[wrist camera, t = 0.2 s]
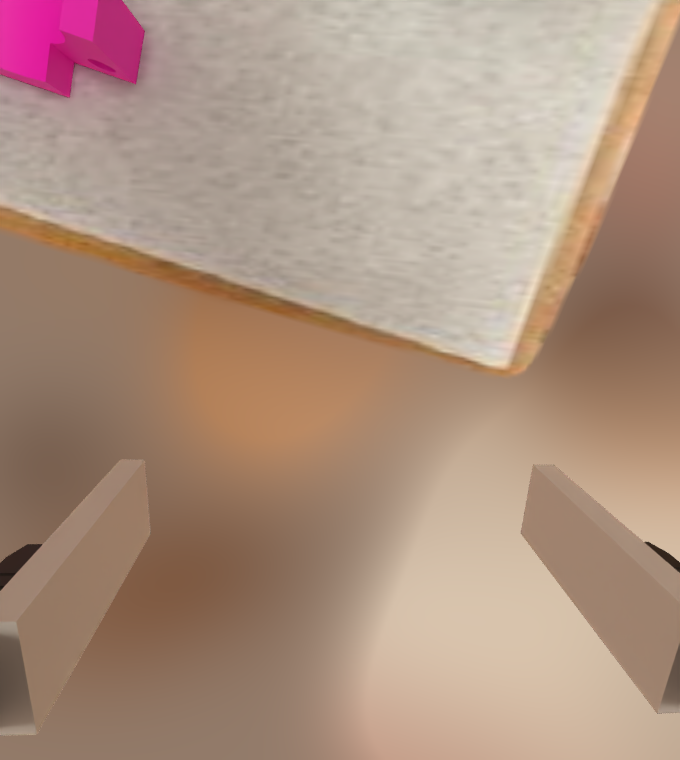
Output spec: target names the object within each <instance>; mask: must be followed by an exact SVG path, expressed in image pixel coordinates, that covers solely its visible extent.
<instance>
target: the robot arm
mask: <svg viewBox="0 0 680 760" xmlns="http://www.w3.org/2000/svg"><path fill="white" fill-rule="evenodd" d="M147 495H148V494H147V481H146V468H145V460H120V461H119V462H118V463H117V464H116V465H115V466H114V467H113V468H112V469H111V470H110V472H109V473H108V474H107V475H106V476H105V477H104V478H103V479H102V480H101V481H100V482H99V484H98V485H97V486H96V487H95V488H94V489H93V490H92V491H91V492H90V493H89V495H88V496H87V497H86V498H85V499H84V500H83V501H82V502H81V503H80V504H79V506H78V507H77V508H76V509H75V510H74V511H73V512H72V513H71V514H70V515H69V516H68V518H67V519H66V520H65V521H64V522H63V523H62V524H61V525H60V527H58V529H57V530H56V531H55V532H54V533H53V534H52V535H51V536H50V537H49V538H48V539H47V541H46V542H45V543H44V544H28V545H26V546H24V547H22V548H21V549H19V550H17V551H16V552H14V553H13V554H11V555H10V556H8V557H6V558H5V559H4V560H3V561H2V562H1V563H0V736H5V735H34V734H37V733H38V732H39V730H40V728H41V726H42V725H43V723H44V721H45V719H46V718H47V716H48V714H49V712H50V710H51V709H52V707H53V705H54V703H55V702H56V700H57V698H58V696H59V695H60V693H61V691H62V689H63V687H64V686H65V684H66V682H67V680H68V679H69V677H70V675H71V673H72V672H73V670H74V668H75V666H76V664H77V663H78V661H79V659H80V657H81V655H82V654H83V652H84V650H85V649H86V647H87V645H88V643H89V641H90V640H91V638H92V636H93V634H94V633H95V631H96V629H97V627H98V626H99V624H100V622H101V620H102V619H103V617H104V615H105V613H106V611H107V610H108V608H109V606H110V604H111V602H112V601H113V599H114V597H115V596H116V594H117V592H118V590H119V588H120V586H121V585H122V583H123V581H124V580H125V578H126V576H127V574H128V573H129V571H130V569H131V567H132V565H133V564H134V562H135V560H136V558H137V556H138V555H139V553H140V551H141V549H142V548H143V546H144V544H145V542H146V541H147V539H148V537H149V535H150V534H151V532H150V520H149V507H148V496H147ZM521 534H522V536H523V537H524V538H525V540H526V541H527V542H528V544H529V545H530V546H531V548H532V549H533V550H534V552H535V553H536V554H537V556H538V557H539V558H540V559H541V561H542V562H543V563H544V565H545V566H546V567H547V569H548V570H549V571H550V573H551V574H552V575H553V577H554V578H555V579H556V581H557V582H558V583H559V585H560V586H561V587H562V589H563V590H564V591H565V592H566V594H567V595H568V596H569V598H570V599H571V600H572V602H573V603H574V604H575V606H576V607H577V608H578V610H579V611H580V612H581V613H582V615H583V616H584V617H585V619H586V620H587V621H588V623H589V624H590V625H591V627H592V628H593V629H594V631H595V632H596V633H597V635H598V636H599V637H600V639H601V640H602V641H603V643H604V644H605V645H606V646H607V648H608V649H609V651H610V652H611V653H612V654H613V656H614V657H615V659H616V660H617V661H618V662H619V664H620V665H621V666H622V668H623V669H624V670H625V671H626V673H627V674H628V676H629V677H630V678H631V680H632V681H633V682H634V684H635V685H636V686H637V687H638V689H639V690H640V691H641V693H642V694H643V695H644V697H645V698H646V699H647V701H648V702H649V703H650V705H651V706H652V707H653V709H654V710H655V711H656V713H657V714H662V713H680V562H679V561H677V560H676V559H675V558H674V557H673V556H671V555H670V554H669V553H667V552H665V551H664V550H662V549H660V548H658V547H656V546H655V545H653V544H651V543H649V542H643V541H642V540H641V539H640V538H638V537H637V536H636V535H635V534H634V533H633V532H632V531H630V530H629V529H628V528H627V527H625V525H623V524H622V523H621V522H620V521H619V520H618V519H616V518H615V517H614V516H613V515H612V514H611V513H609V512H608V511H607V510H606V509H605V508H604V507H603V506H601V505H600V504H599V503H598V502H597V501H596V500H594V499H593V498H592V497H591V496H590V495H589V494H587V493H586V492H585V491H584V490H583V489H582V488H580V487H579V486H578V485H577V484H576V483H574V482H573V481H572V480H571V479H570V478H569V477H568V476H567V475H565V474H564V473H563V472H562V471H561V470H560V469H558V468H557V467H556V466H555V465H533V468H532V473H531V479H530V484H529V490H528V495H527V501H526V507H525V512H524V518H523V523H522V529H521Z"/></svg>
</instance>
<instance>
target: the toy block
mask: <svg viewBox="0 0 680 760" xmlns="http://www.w3.org/2000/svg"><path fill="white" fill-rule="evenodd" d="M144 32H145V31H144V29H143V28H142V27H141V25H140V24H139V23H138V21H137V20H136V19H135V17H134V16H133V15H132V13H131V12H130V10H129V9H128V8H127V6H126V5H125V4H124V2H123V1H122V0H0V74H1V75H4V76H7V77H10V78H13V79H16V80H19V81H21V82H24V83H27V84H30V85H33V86H36V87H39V88H42V89H45V90H48V91H51V92H54V93H57V94H60V95H63V96H66V97H69V98H70V91H71V83H72V76H73V68H74V63H76V64H79V65H82V66H85V67H88V68H91V69H94V70H96V71H99V72H102V73H105V74H108V75H111V76H114V77H117V78H119V79H122V80H125V81H128V82H131V83H134V84H136V81H137V75H138V69H139V62H140V56H141V50H142V44H143V38H144Z"/></svg>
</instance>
